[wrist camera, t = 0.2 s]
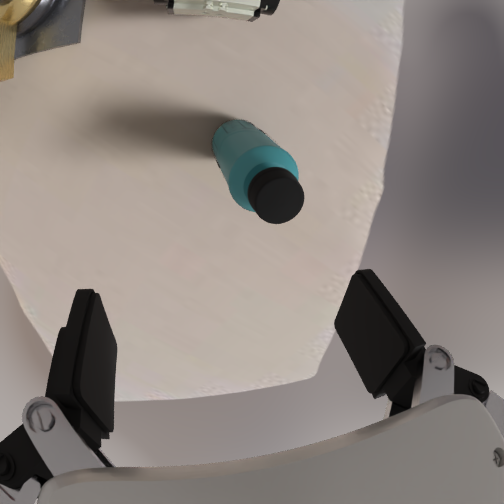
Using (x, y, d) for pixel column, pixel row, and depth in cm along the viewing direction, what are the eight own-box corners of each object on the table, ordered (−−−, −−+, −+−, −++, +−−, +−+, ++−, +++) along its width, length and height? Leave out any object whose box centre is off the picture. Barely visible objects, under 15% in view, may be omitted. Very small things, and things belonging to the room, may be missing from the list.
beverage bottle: (203, 156, 37) (224, 235, 21) (218, 109, 34) (254, 149, 18) (249, 167, 40) (301, 248, 24) (265, 123, 36) (335, 175, 21)
